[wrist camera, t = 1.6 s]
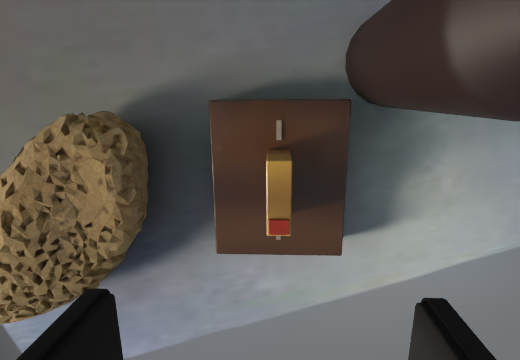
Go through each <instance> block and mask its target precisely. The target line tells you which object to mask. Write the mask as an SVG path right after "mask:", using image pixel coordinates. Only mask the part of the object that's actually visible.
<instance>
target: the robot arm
mask: <svg viewBox="0 0 520 360" xmlns="http://www.w3.org/2000/svg"><path fill="white" fill-rule="evenodd" d="M17 360H123V354H122V347H121V340H120V332H119V325H118V318H117V310H116V303H115V297H114V295H113V294H110V292H109V290H107V289H87V290H86V291H85V292H84V293H83V294H82V295H81V296H80V297H79V298H78V299H77V300H76V301H75V302H74V303H73V304H72V305H71V306H70V307H69V308H68V309H67V310H66V311H65V312H64V313H63V314H62V315H61V316H60V317H59V318H58V319H57V320H56V321H55V322H54V323H53V324H52V325H51V326H50V327H49V328H48V329H47V330H46V331H45V332H44V333H43V334H42V335H41V336H40V337H39V338H38V339H37V340H36V341H35V342H34V343H33V344H32V345H30V346H29V347H28V348H27V349H26V350H25V351H24V352H23V353H22V354H21V356H20V357H18V358H17ZM408 360H496V359H495V357H494V356H493V355H492V354H491V353H490V352H489V351H488V349H487V348H486V347H485V346H484V345H483V343H482V342H481V341H480V340H479V339H478V338H477V336H476V335H475V334H474V333H473V331H472V330H471V329H470V328H469V327H468V326H467V324H466V323H465V322H464V321H463V319H462V318H461V317H460V316H459V315H458V313H457V312H456V311H455V310H454V309H453V308H452V306H451V305H450V304H449V303H448V301H447V300H445V299H443V298H423V299H422V301H421V303H417V304H416V306H415V313H414V320H413V328H412V335H411V343H410V351H409V358H408Z"/></svg>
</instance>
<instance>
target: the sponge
mask: <svg viewBox="0 0 520 360" xmlns="http://www.w3.org/2000/svg"><path fill="white" fill-rule="evenodd" d="M147 168H148V158H147V150H146V146H145V144H144V142H143V140H142V138H141V132H140V131H137V130H136V129H135V128H134V127H133V126H131V125H130V124H129V123H128V122H126V121H124V120H122V119H121V118H119V117H118V116H116V115H115V114H113V113H112V112H108V111H100V112H97V113H94V114H92V115H88V116H86V115H84V114H83V112H82V113H80V114H78V115H77V116H76V115H74V114H66V115H63V116H61V117H59V118H58V119H57V120H56V121H55V122H54V123H52V124H50V125H48V126H47V127H45V128H43V129H41V130H40V131H39V132H38V134H37V136H35V137H34V138H32V139H31V140H29V141H28V142H27V143H26V144H25V145H24V147H23V148H22V150H21V151H20V153H19V154H18V156H17V157H15V159H14V161H13V163H12V165H11V166H9V167H8V169H7V170H6V171H5V173H2V174H1V175H0V325H1V324H2V323H12V322H16V321H20V320H23V319H29V318H32V317H34V316H37V315H41V314H44V313H46V312H48V311H51V310H53V309H55V308H58V307H60V306H62V305H65V304H68V303H70V302H71V301H73V300H74V299H76V298H77V297H78V296H80V295H82V294H83V293H84V292H85V291H86V290H87V289H96V288H97V287H98V286H99V282H100V281H102V280H103V279H104V278H106V277H107V276H109V272H111V271H112V270H113V269H114V268H116V267H117V266H118V265H119V264H120V263H121V262H122V261H123V260H124V259H125V254H126V252H127V251H128V248H129V247H130V245H131V244H132V242H133V240H134V239H135V237H136V235H137V234H138V232H140V231H141V227H142V223H143V220H144V219H145V217H146V216H147V201H148V198H149V196H148V193H147V183H148V177H149V176H148V171H147Z"/></svg>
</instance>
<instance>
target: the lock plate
mask: <svg viewBox="0 0 520 360" xmlns="http://www.w3.org/2000/svg"><path fill="white" fill-rule="evenodd" d="M350 112H351V99H266V100H210V101H209V116H210V136H211V156H212V176H213V196H214V216H215V236H216V253H217V254H274V255H337V256H341V255H342V240H343V224H344V208H345V192H346V176H347V160H348V144H349V128H350ZM268 150H290V153H291V157H292V162H293V163H292V222H291V236H267V222H266V160H267V154H268Z"/></svg>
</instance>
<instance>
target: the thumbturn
mask: <svg viewBox="0 0 520 360" xmlns="http://www.w3.org/2000/svg"><path fill="white" fill-rule="evenodd" d="M292 163H293V162H292V157H291V153H290V150H268V154H267V160H266V222H267V236H291V222H292Z"/></svg>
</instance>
